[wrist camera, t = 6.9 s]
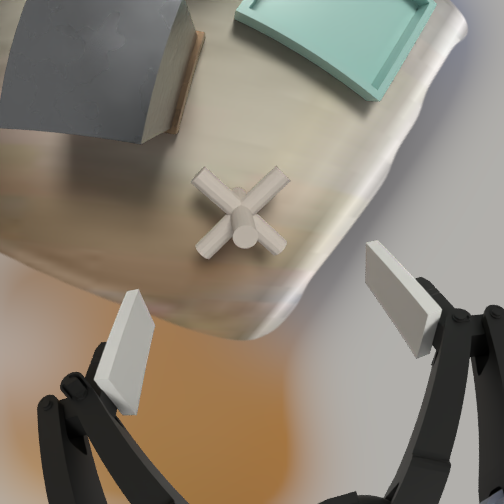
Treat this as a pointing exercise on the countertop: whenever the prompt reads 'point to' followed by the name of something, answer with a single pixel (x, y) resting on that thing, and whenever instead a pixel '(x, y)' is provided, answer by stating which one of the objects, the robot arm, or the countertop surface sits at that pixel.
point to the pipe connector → (240, 213)
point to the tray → (344, 35)
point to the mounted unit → (101, 68)
